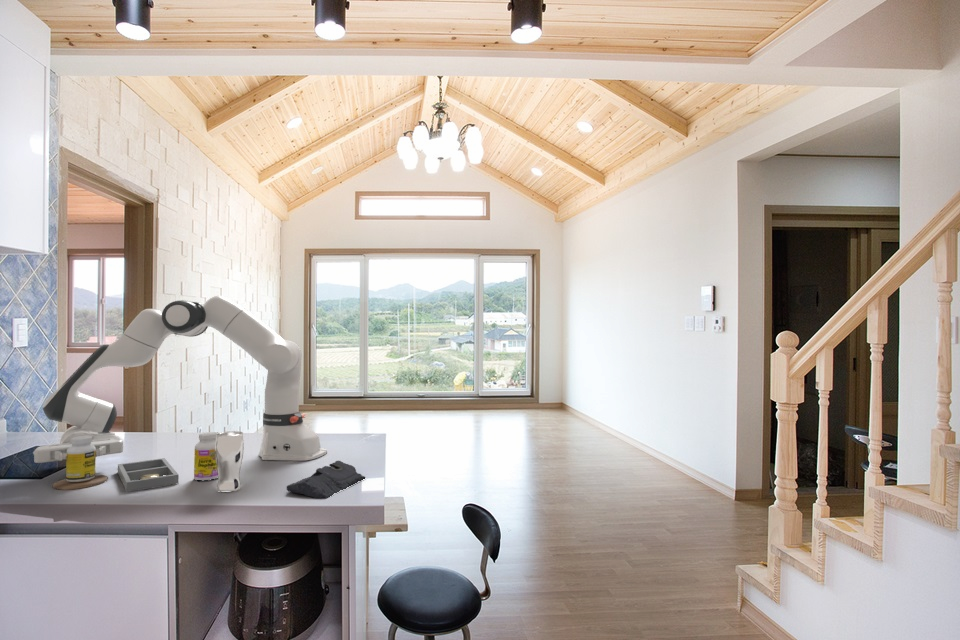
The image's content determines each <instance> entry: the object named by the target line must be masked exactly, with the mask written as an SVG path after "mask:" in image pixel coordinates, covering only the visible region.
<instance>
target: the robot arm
mask: <svg viewBox="0 0 960 640" xmlns="http://www.w3.org/2000/svg"><path fill="white" fill-rule="evenodd" d="M208 327H211V328H213V329H215V331H218V332H219V333H221V334H222V335H223V336H225V337H226V338H227V339H229V340H230V341H232V343H235V345H237V346H239V348H241V349H242V350H244V351H245V352H246V353H247V354H248V355H250V357H251V358H252V359H253V360H255V361H256V362H257V363H258V364H260V365H261V366H262V367H263V368H265V369H266V371H267V376H266V381H265V382H266V383H265V389H264V412H263V415H262V425H263V433H262V440H261V445H260V449H259V452H258V456H259V457H261V460H263V461H294V462H295V461H296V462H297V461H303V462H304V461H310V460H311V461H312V460H314V459H317V458H318V459H319V458H320V457H322V456H324V455H326V454H327V453H328V449H327V448H323V447H321V440H320V437H319V435H318V434H317V433H316V432H315V431H314V430H312V429H311V428H310V427H309V426H308V425H307V424H305V423H304V419H305V418H306V413H304V414H301V412H300V411H299V409H300V408H299V407H300V406H299V401H300V383H301V382H300V380H301V370H302V356H303V355H302V350H301V348H300V346H299V345H298V344H297V343H296V342H294V341H293V340H289V339H284V338H282V337H281V336H280V335H279V334H277V332H275V331H274V330H273V329H272V328H271V327H269V326H268V325H267V324H266V323H265V322H263V321H262V320H261V319H260V318H258V317H257V316H255V315H254V314H253V313H251V312H250V311H249V310H248V309H246V308H244V307H243V306H242V305H240V304H239V303H236V302H235V301H233V300H231V299H229V298H227V297H226V296H222V295H214V296H212V297H210V298H209V299H208V300H207V301H206V302H204V303H203V304H202V303H200V302H197V301H191V300H185V299H184V300H183V299H182V300H175V301H172V302H169V303H168V304H167V305H166V306H164V307H163V310H162V311H161V310H159V309H155V308H145V309H143V310H141V311H140V312H139V313H138V314H137V315H136V316H135V318H134V319H132V321H131V322H130V324H129V325H128V326H127V328H126V329H125V330H124V332H123V333H122V335H121V336H120V337H119V338H118V339H117V340H115V341H113V342H112V343H110V344H103V345H101V346H99V347H98V348H96V350H95V351H93V352H92V353H91V355H89V356H88V357H87V358H86V359H85V361H83V363H82V364H81V365H80V366H79V367H78V368H77V369H76V370H75V371H74V372H73V373H72V374H71V375H70V376H69V377H68V378H67V379H66V380H65V382H64V383H62V384H61V386H60V387H58V388H57V389H56V390H55V391H54V392H52V393H51V394H50V395H49V396H48V397H47V399H45V401H44V404H43V407H42V411H43V413H44V415H45V417H46V418H47V419H48V420H51V421H53V422H54V421H55V422H58V423H59V422H60V423H65V424H68V425H71V427H68V428H67V429H66V430H65V431H64V432H63V433H62V435H61V437H60V439H59V443H54V444H45V445H41V446H38V447H37V448H36V449H34V450H33V452H32V454H33V456H34V457H33V458H34V459H33V461H34V463H36V464H42V463H43V464H44V463H50V462H51V463H52V462H61V461H66V460H67V449H68V448H70V447H71V446H72V444H71V438H73V437H77V436H92V442H91V445H94V446H95V448H96V455H95V456H96V457H101V456H107V455H115V454H122V453H123V452H124V440H123V438H121V437H120V436H119V435H116V433H115V432H113V431H111V430H112V428H113V426H114V424H115V422H116V419H117V415H118V413H117V412H118V411H117V408H116V406H115V404H114V403H112V402H109V401H107V400H104V399H101V398H97V397H95V396H91V395H89V394H87V393H82V392H81V391H80V390H79V389H80V388H81V387H82V386H83V385H84V384H85V383H86V382H87V380H89V379H90V377H91V376H92V375H93V374H94V373H96V371H98V370H100V369H103V368H106V367H117V368H118V367H121V368H134V367H141V366H144V365H146V364H148V363H149V362H151V360H152V359H153V358H154V356H155V355H156V353H158V351H159V349H160V347H161V346H162V345H163V343H164V341H165V340H166V338H168V337H169V336H170V335H173V334H174V335H178V336H183V337H188V338H189V337H197V336H200V335H202V334H204V333H205V332H206V331H207V329H208Z"/></svg>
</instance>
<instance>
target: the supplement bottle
mask: <svg viewBox="0 0 960 640" xmlns="http://www.w3.org/2000/svg"><path fill="white" fill-rule="evenodd" d="M216 434H218V433H217V432H215V431H209V432H207V431H205V432H201V433H198V440H199V442H197V443H196V444H195V445H194V458H193V459H194V463H193V465H194V468H193V478H194V480H195V481H197V480H208V481H211V480H210V479H214V478H216V479H218V478H217V477H218V470H217V465H216V458H215V443H216ZM214 480H215V479H214Z"/></svg>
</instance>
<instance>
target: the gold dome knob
mask: <svg viewBox="0 0 960 640" xmlns="http://www.w3.org/2000/svg"><path fill="white" fill-rule="evenodd" d="M154 477H159V474H148V475H144V476H141V479H147V478H154ZM141 479H140V480H141Z"/></svg>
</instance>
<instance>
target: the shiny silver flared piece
mask: <svg viewBox="0 0 960 640" xmlns="http://www.w3.org/2000/svg"><path fill="white" fill-rule="evenodd" d="M244 444H245V443H244V432H243V431H238V430H232V431H231V430H229V431H221V432H218V433H217V434H216V443H215V458H216V465H217V470H218V478H217V484H216V490H217V491H234V492H237V491H240V490H242V484H241V475H240V474H241V468H242V463H243V459H244V449H245V448H244ZM216 490H215V491H216ZM236 490H237V491H236ZM217 491H216V492H217Z"/></svg>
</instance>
